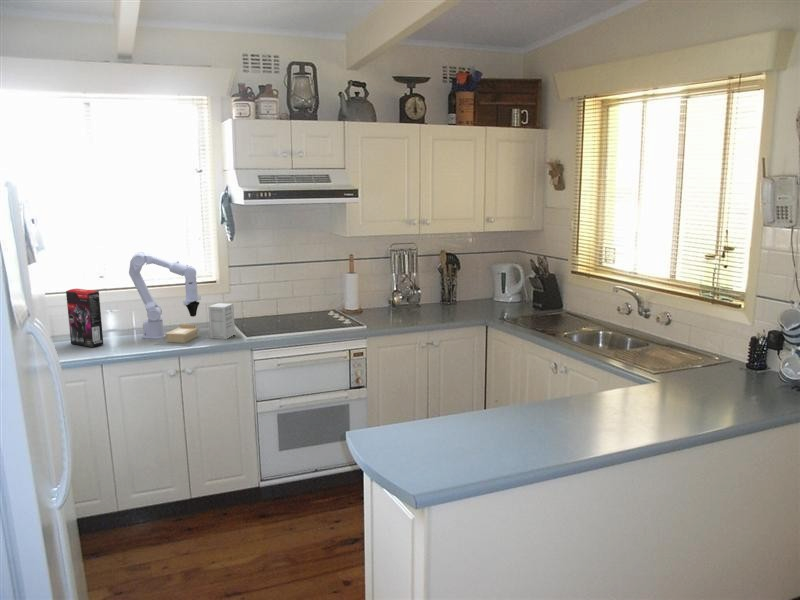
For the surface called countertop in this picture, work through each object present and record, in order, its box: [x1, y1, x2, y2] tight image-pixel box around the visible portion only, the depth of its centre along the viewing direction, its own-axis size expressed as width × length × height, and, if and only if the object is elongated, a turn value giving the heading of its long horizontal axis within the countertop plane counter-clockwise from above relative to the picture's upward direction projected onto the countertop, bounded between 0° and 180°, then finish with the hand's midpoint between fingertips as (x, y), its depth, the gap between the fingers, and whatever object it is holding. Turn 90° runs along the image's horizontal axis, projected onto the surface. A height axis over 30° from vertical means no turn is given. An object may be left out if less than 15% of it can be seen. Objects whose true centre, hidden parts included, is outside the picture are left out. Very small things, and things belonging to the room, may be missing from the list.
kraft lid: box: [165, 323, 199, 337], centre depth 335 cm, size 10×14×3 cm
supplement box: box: [208, 302, 236, 340], centre depth 341 cm, size 10×9×17 cm
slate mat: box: [153, 334, 210, 347], centre depth 335 cm, size 19×22×1 cm
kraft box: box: [166, 331, 199, 343], centre depth 336 cm, size 9×14×4 cm, turn 169°
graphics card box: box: [65, 288, 104, 348], centre depth 327 cm, size 17×7×27 cm, turn 62°
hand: (193, 316), depth 346 cm, fingers closed
